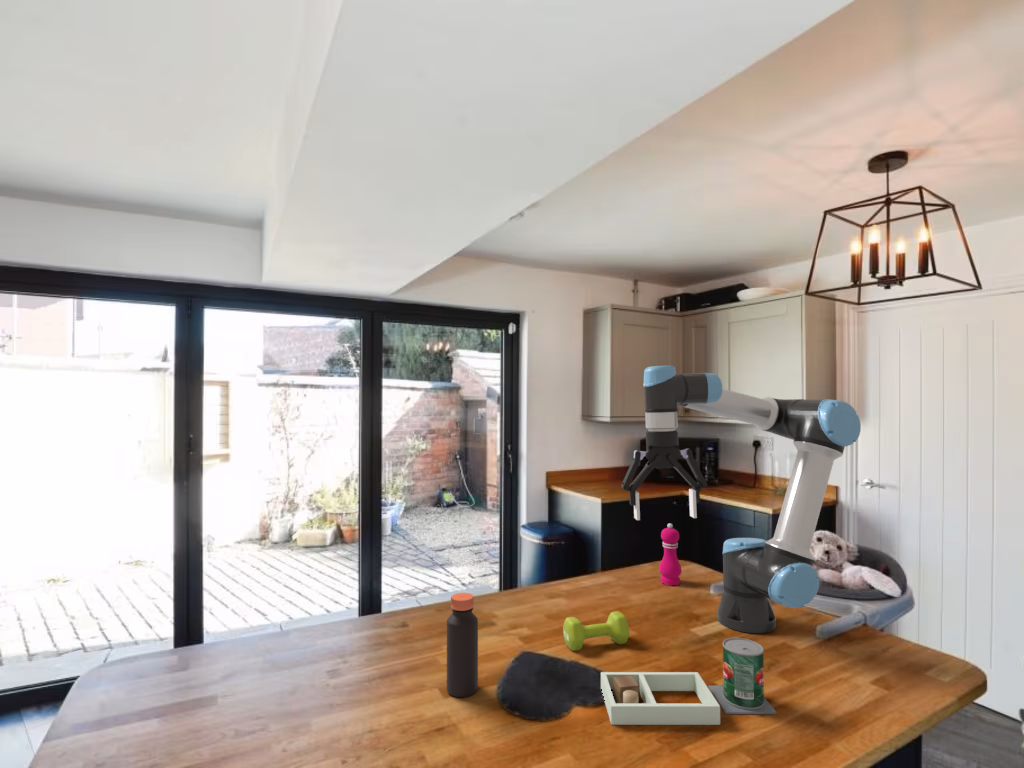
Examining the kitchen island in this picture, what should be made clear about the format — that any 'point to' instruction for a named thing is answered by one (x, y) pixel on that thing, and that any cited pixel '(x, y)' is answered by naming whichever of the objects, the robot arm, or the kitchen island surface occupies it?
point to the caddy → (661, 711)
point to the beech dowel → (630, 696)
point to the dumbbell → (595, 630)
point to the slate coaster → (731, 709)
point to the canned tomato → (743, 673)
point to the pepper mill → (670, 557)
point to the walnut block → (624, 687)
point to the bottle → (462, 647)
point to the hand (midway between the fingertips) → (665, 518)
